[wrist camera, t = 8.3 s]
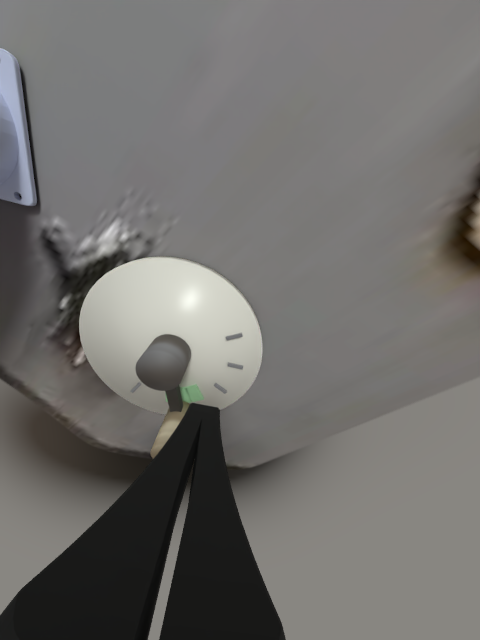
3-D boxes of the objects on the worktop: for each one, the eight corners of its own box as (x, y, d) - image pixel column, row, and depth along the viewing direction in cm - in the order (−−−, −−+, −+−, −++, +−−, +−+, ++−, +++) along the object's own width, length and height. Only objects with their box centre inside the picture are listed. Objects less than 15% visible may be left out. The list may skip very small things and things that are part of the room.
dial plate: (90, 391, 23) (82, 400, 22) (81, 232, 17) (69, 234, 16) (238, 421, 24) (238, 431, 23) (285, 284, 18) (288, 288, 17)
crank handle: (146, 334, 19) (114, 371, 14) (188, 333, 19) (169, 370, 14) (166, 416, 23) (146, 464, 18) (201, 416, 23) (189, 464, 18)
